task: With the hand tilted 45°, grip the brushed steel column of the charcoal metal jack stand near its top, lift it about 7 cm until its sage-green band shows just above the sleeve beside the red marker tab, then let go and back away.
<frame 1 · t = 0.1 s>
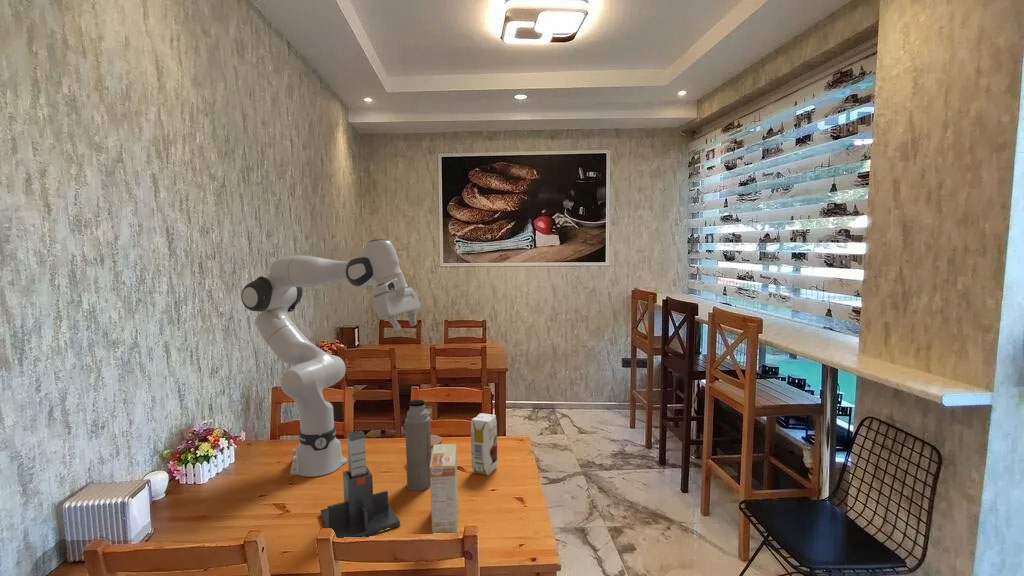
hand: (406, 327, 157), 52 cm above the table, tool tilted 20°, fingers open, 8 cm apart
juice carton: (484, 470, 170), on the table
steel column: (357, 474, 138), point 14 cm above the table, slide at 0.0 cm
lidded jar: (427, 461, 179), on the table
coffeecake box: (445, 521, 139), on the table
thermos bottle: (419, 485, 160), on the table
jack stand: (359, 520, 140), on the table
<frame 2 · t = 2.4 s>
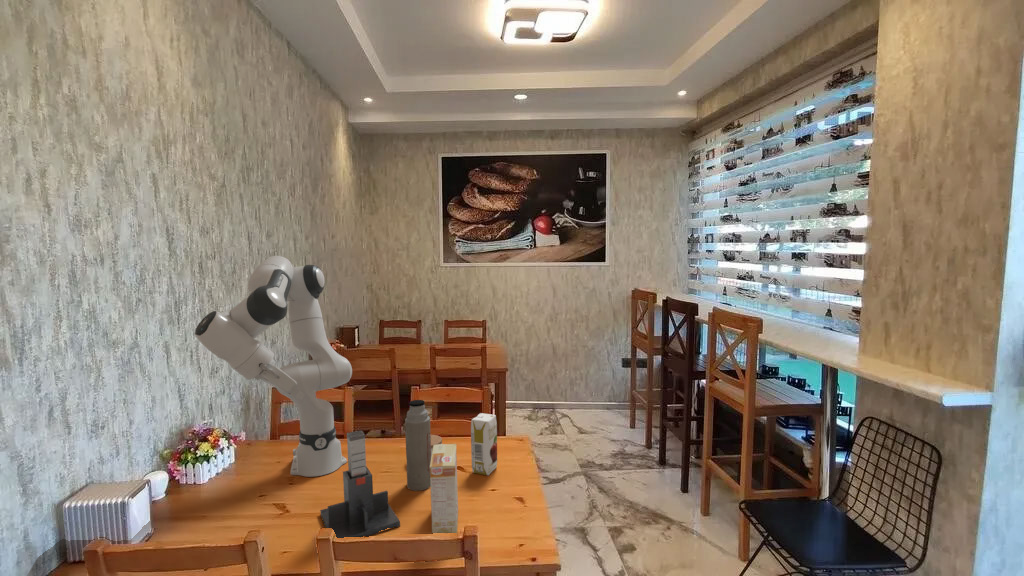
hand: (296, 394, 132), 38 cm above the table, tool tilted 40°, fingers open, 8 cm apart
nothing on the table moved.
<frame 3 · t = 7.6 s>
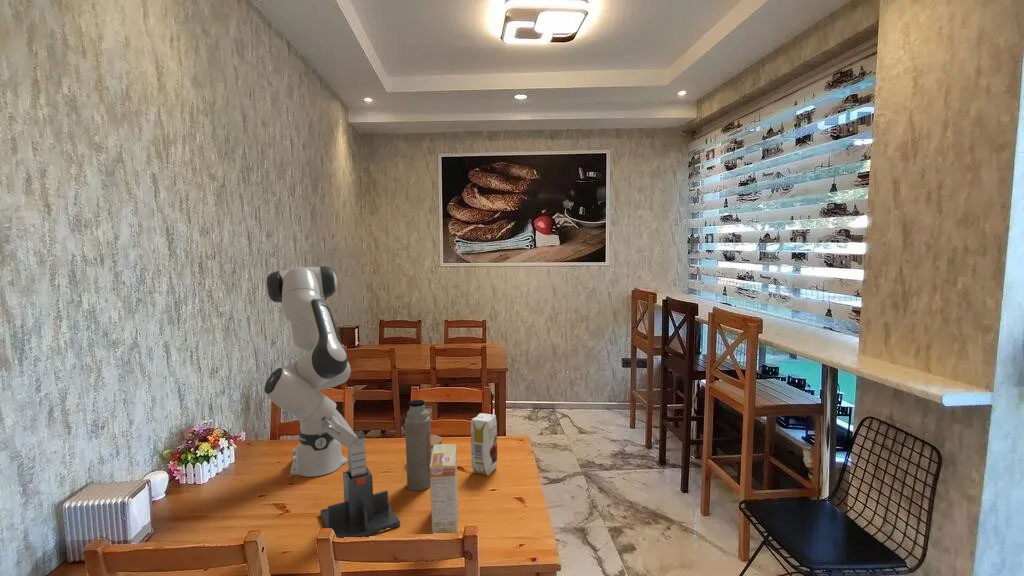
hand: (358, 440, 138), 23 cm above the table, tool tilted 45°, fingers closed on steel column, 4 cm apart
steel column: (357, 474, 138), point 14 cm above the table, slide at 0.0 cm, touching gripper
everything else where it was.
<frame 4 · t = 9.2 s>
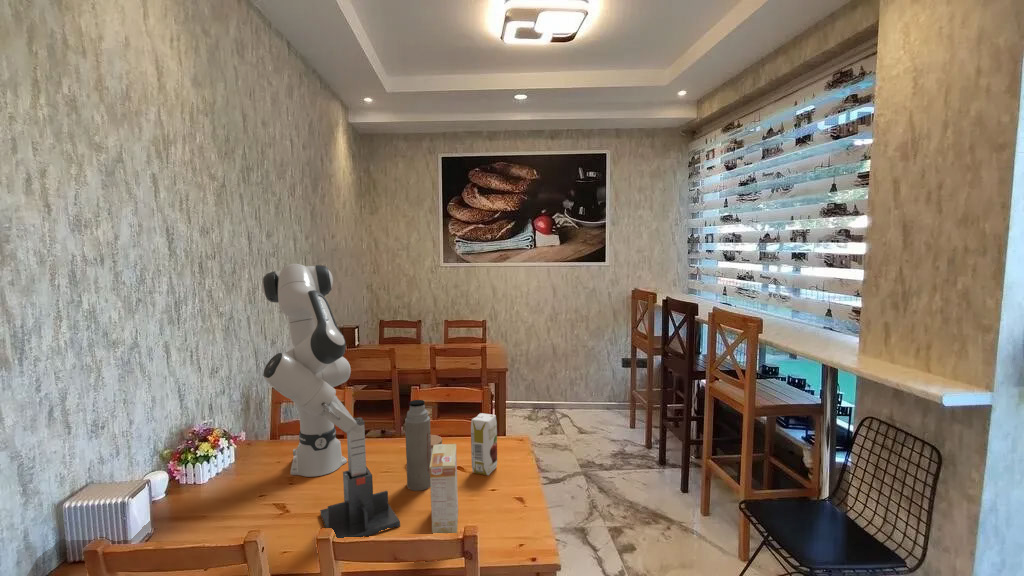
hand: (357, 427, 138), 27 cm above the table, tool tilted 45°, fingers closed on steel column, 4 cm apart
steel column: (356, 460, 138), point 18 cm above the table, slide at 3.9 cm, touching gripper
everything else where it was.
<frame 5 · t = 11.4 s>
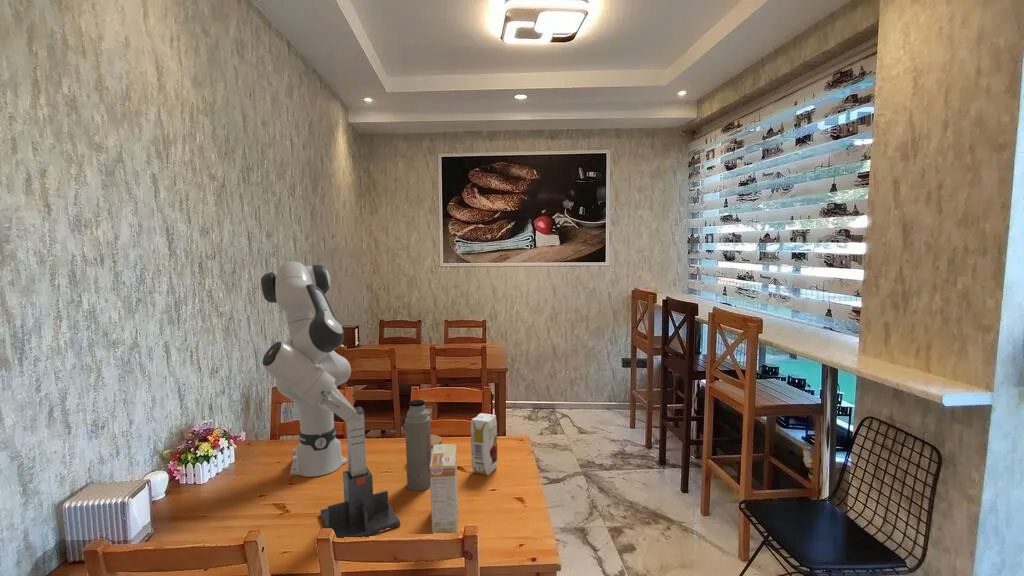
hand: (357, 416, 137), 30 cm above the table, tool tilted 45°, fingers closed on steel column, 4 cm apart
steel column: (356, 450, 138), point 21 cm above the table, slide at 6.9 cm, touching gripper
everything else where it was.
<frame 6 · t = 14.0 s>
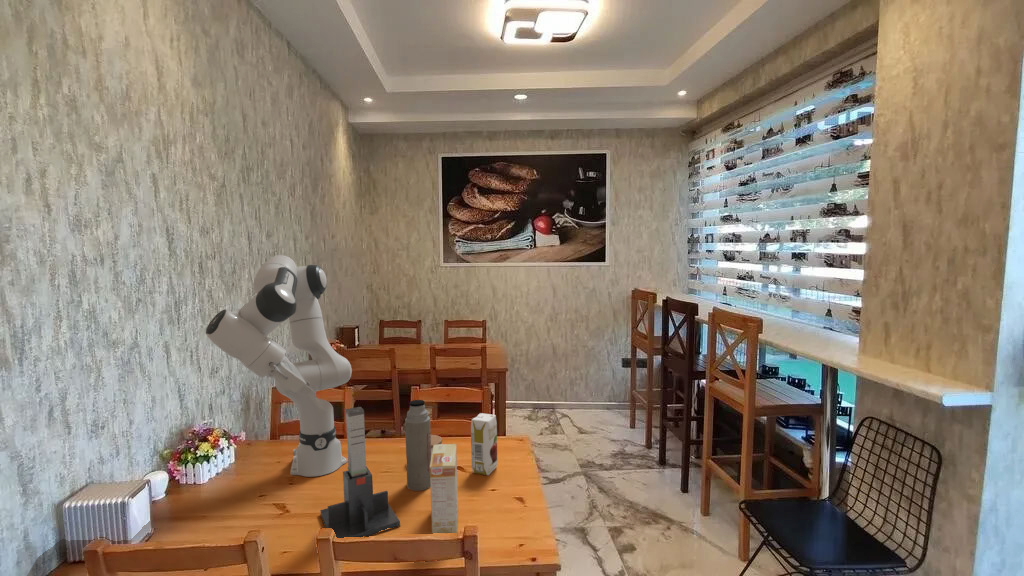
hand: (311, 391, 131), 40 cm above the table, tool tilted 45°, fingers open, 8 cm apart
steel column: (356, 450, 138), point 21 cm above the table, slide at 6.9 cm
everything else where it was.
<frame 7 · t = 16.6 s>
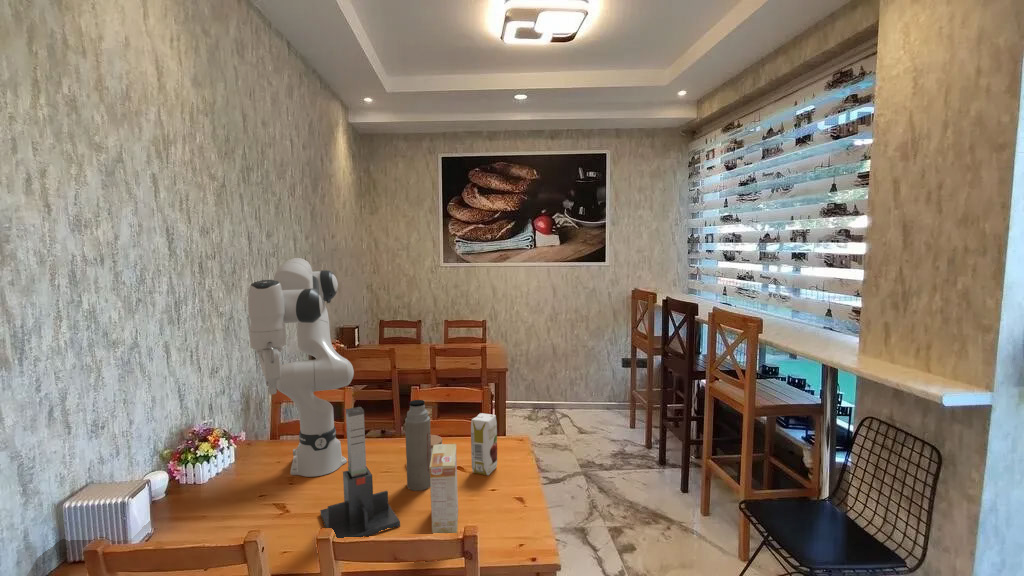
hand: (271, 389, 135), 39 cm above the table, tool pointing down, fingers open, 8 cm apart
nothing on the table moved.
at the end: steel column slide at 6.9 cm; the gripper is holding nothing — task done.
